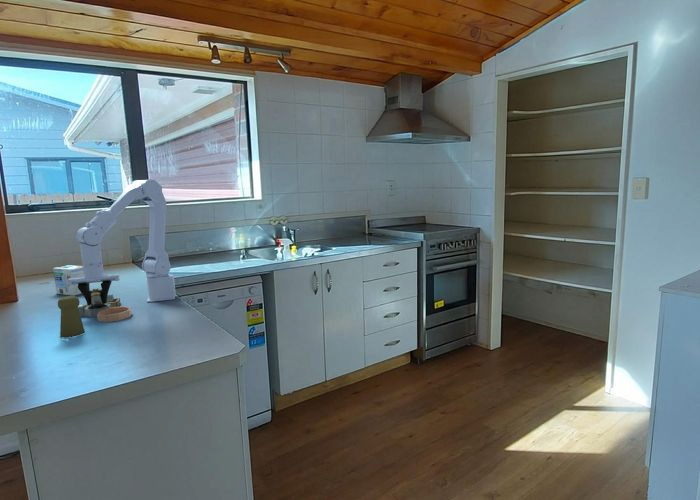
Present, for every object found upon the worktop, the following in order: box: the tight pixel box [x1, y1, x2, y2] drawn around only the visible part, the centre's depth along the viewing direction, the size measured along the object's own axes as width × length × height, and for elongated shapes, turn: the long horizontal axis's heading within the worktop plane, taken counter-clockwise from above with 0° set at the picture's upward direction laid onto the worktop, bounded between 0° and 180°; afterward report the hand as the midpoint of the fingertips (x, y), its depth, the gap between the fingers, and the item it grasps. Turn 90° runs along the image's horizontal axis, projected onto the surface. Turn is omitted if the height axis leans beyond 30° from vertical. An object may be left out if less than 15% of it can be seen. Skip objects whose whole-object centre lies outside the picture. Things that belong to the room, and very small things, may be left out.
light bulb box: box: [52, 264, 84, 296], centre depth 172 cm, size 11×7×11 cm, turn 68°
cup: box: [97, 305, 133, 323], centre depth 137 cm, size 9×9×2 cm
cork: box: [57, 295, 86, 339], centre depth 122 cm, size 6×6×11 cm
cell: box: [89, 287, 105, 309], centre depth 141 cm, size 4×4×7 cm
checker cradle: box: [78, 304, 111, 318], centre depth 141 cm, size 9×7×3 cm
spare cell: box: [107, 294, 115, 303], centre depth 150 cm, size 7×4×4 cm, turn 110°
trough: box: [83, 297, 121, 308], centre depth 150 cm, size 10×6×2 cm, turn 110°
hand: (97, 303), depth 142 cm, fingers closed on cell, 4 cm apart
